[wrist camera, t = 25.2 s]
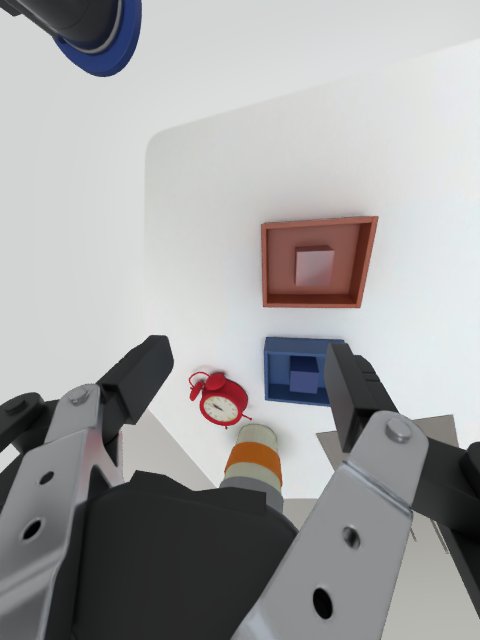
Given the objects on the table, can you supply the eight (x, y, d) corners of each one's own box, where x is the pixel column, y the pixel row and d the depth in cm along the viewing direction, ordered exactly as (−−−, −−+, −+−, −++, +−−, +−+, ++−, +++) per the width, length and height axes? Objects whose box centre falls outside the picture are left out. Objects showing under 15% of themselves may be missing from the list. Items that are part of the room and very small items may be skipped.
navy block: (289, 374, 40) (289, 391, 37) (290, 354, 39) (290, 371, 35) (313, 375, 40) (316, 393, 36) (315, 356, 38) (319, 373, 34)
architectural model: (315, 433, 47) (326, 511, 35) (452, 414, 38) (533, 510, 26) (342, 487, 54) (360, 568, 42) (464, 481, 45) (532, 582, 33)
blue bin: (266, 383, 43) (264, 400, 39) (266, 336, 38) (263, 351, 34) (335, 389, 41) (340, 408, 37) (343, 340, 36) (350, 355, 32)
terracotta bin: (265, 296, 35) (262, 307, 31) (264, 223, 30) (261, 224, 26) (351, 296, 32) (360, 308, 28) (365, 216, 27) (378, 216, 23)
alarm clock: (222, 434, 48) (170, 404, 41) (224, 408, 53) (178, 378, 46) (258, 421, 43) (206, 385, 37) (257, 394, 48) (212, 359, 42)
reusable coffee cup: (287, 425, 48) (288, 505, 34) (279, 457, 53) (278, 536, 40) (234, 414, 49) (215, 486, 36) (231, 446, 55) (215, 519, 42)
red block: (294, 277, 32) (295, 286, 28) (295, 246, 30) (296, 251, 26) (325, 277, 31) (330, 286, 27) (328, 245, 29) (335, 250, 25)
